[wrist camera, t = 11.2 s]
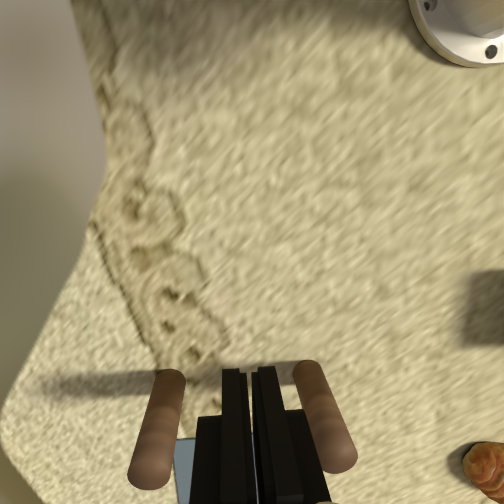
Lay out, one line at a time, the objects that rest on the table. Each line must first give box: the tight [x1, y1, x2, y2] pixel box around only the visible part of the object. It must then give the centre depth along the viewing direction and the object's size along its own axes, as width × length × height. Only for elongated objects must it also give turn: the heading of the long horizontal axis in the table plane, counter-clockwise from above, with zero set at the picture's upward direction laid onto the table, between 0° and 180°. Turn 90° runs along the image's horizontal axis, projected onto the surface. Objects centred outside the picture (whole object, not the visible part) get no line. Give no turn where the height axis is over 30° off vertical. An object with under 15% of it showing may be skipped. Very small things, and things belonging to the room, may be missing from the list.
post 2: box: [293, 360, 358, 474], centre depth 27 cm, size 3×3×9 cm
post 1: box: [127, 369, 186, 490], centre depth 26 cm, size 3×3×9 cm
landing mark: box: [173, 433, 259, 504], centre depth 35 cm, size 14×14×1 cm
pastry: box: [462, 442, 504, 504], centre depth 36 cm, size 9×7×4 cm
